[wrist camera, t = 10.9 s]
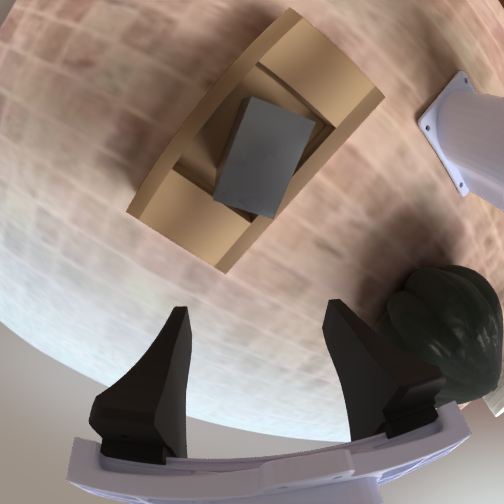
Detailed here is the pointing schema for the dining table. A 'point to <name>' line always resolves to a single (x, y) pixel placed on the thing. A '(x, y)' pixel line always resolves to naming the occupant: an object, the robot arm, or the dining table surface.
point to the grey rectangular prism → (260, 156)
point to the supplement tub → (497, 392)
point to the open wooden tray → (220, 123)
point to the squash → (449, 329)
